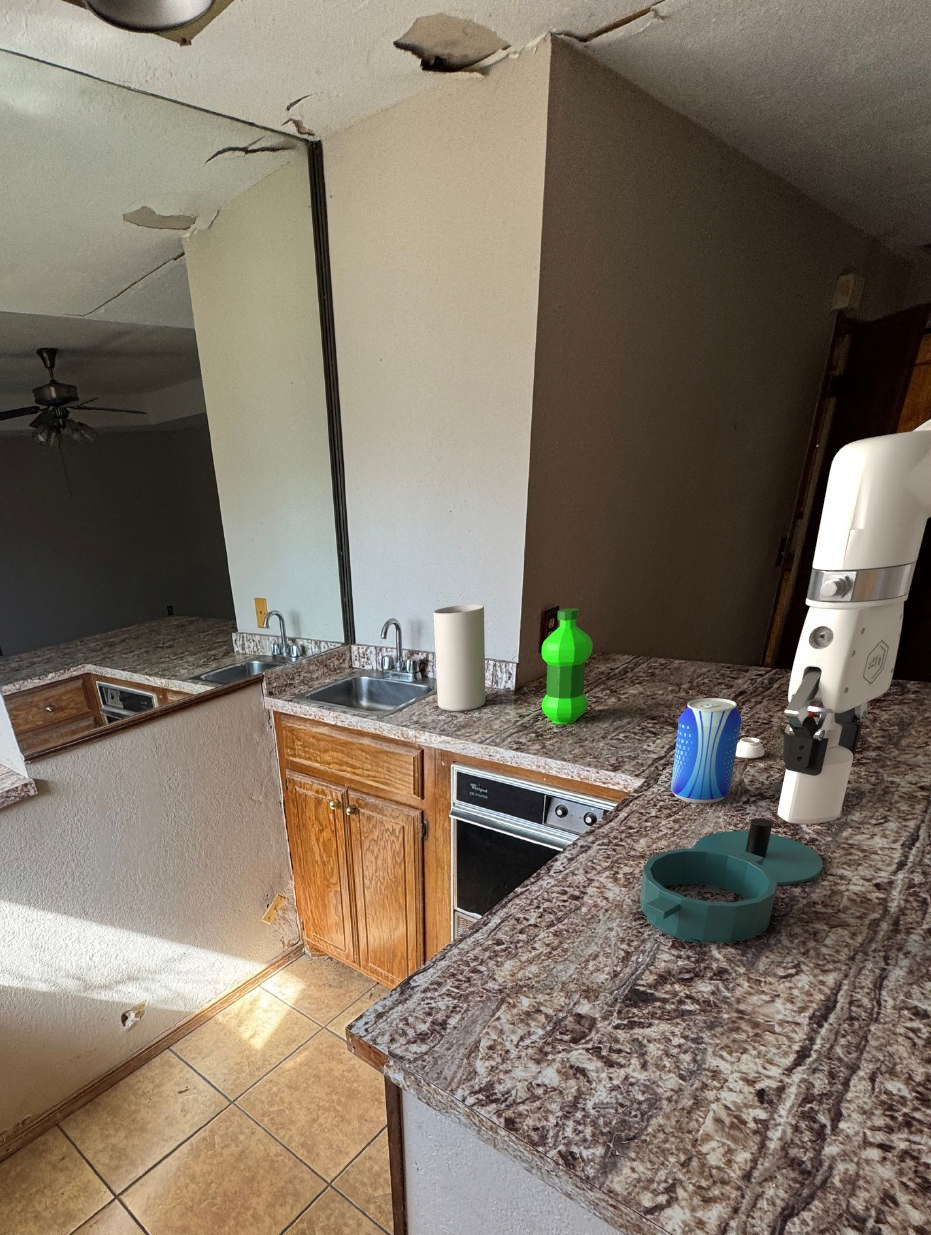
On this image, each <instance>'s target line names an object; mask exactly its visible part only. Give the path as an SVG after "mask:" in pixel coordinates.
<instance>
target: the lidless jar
mask: <svg viewBox="0 0 931 1235" xmlns="http://www.w3.org/2000/svg"><path fill="white" fill-rule="evenodd" d="M763 756H765V748H764V746H763V744H762V743H761V739H759V738H757V737H750V736H749V737H742V738H740V740H739V741H738V744H737V750H736V756H735V757H738V758H742V759H758V758H761V757H763Z"/></svg>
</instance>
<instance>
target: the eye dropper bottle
mask: <svg viewBox="0 0 931 1235" xmlns="http://www.w3.org/2000/svg"><path fill="white" fill-rule="evenodd" d="M841 730H842V726H841V725H839V724H837V723H835V717H834V713H833V716H832V718H831V721H830V723H829V726H828V729H827V731H826V734H825V736H824V738H829V740H828V745H827V749H826V754H825V758H824V763H823V767H822V772H821V773H820V774H819V775H817V776H812V775H808V774H803V773H798V772H794V771H789V770H787V769H786V768H785V773H784V778H783V782H782V783H783V787H782V792H780V798H779V803H778V809H777V815H778V817H779V818H781V819H782V820H783V821H785V822H787V823H790V824H796V825H814V824H821V823H827V822H830V821H831V822H832V821H833V820H836V819H838V818H839V817H840V815H841V812H842V809H843V804H844V800H845V795H846V791H847V789H848V788H847V787H848V783H849V779H850V775H851V771H852V766H853V760H854V757H853V754H852V752H851V751H850V750H848V749H847V748H845V747H842V746H839V745H838V743H839V739H840V734H841Z"/></svg>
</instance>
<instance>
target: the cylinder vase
mask: <svg viewBox="0 0 931 1235" xmlns="http://www.w3.org/2000/svg"><path fill="white" fill-rule="evenodd" d="M433 631H434V652H435V653H434V654H435V655H434V656H435V675H436V695H437V706H438V708H440V709H441V710H443V711H448V712H465V711H471V710H476V709H478V708H480V707H482V706H484V705H485V703H486V649H485V648H486V647H485V605H483V604H475V603H473V604H472V603H471V604H460V605H459V604H457V605H452V606H446V607H441V608H437V609H435V610H433Z"/></svg>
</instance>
